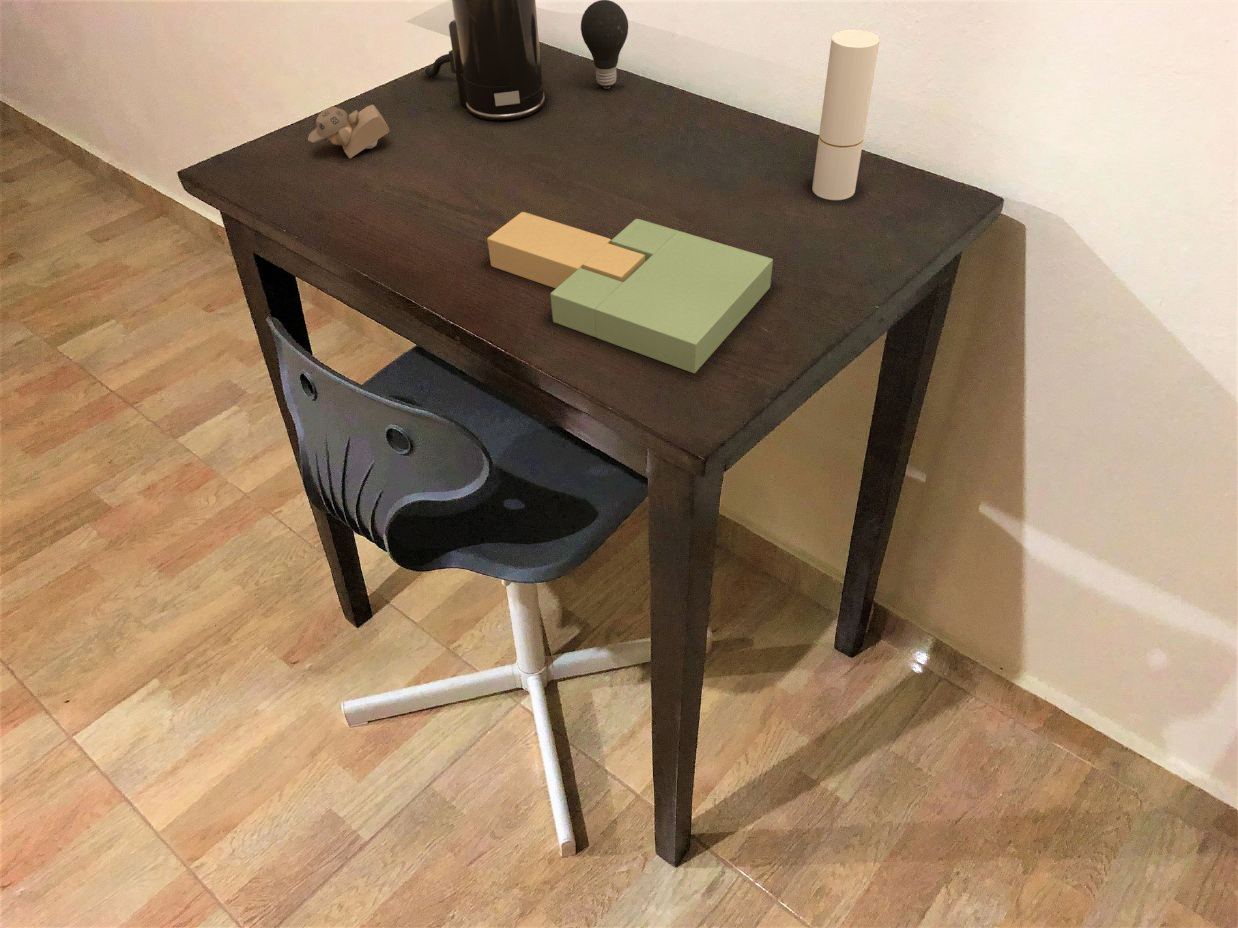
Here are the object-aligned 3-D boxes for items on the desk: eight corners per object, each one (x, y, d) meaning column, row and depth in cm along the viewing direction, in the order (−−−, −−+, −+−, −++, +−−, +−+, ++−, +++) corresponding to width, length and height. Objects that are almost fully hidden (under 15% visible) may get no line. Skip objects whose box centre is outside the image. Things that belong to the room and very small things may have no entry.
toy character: (332, 165, 106) (297, 123, 102) (389, 125, 106) (357, 82, 101) (338, 181, 104) (303, 139, 99) (396, 140, 103) (364, 96, 99)
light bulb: (576, 93, 113) (571, 7, 106) (594, 75, 117) (590, -10, 110) (619, 99, 112) (616, 12, 105) (636, 81, 115) (635, -5, 108)
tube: (854, 201, 93) (879, 49, 83) (811, 198, 94) (830, 46, 83) (855, 181, 96) (879, 30, 86) (813, 178, 97) (832, 28, 86)
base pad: (552, 322, 80) (549, 293, 78) (636, 246, 89) (636, 218, 87) (694, 374, 75) (695, 344, 73) (770, 287, 83) (773, 258, 81)
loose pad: (490, 266, 87) (486, 238, 85) (525, 239, 90) (522, 211, 88) (617, 310, 81) (616, 281, 79) (649, 279, 85) (649, 250, 82)
